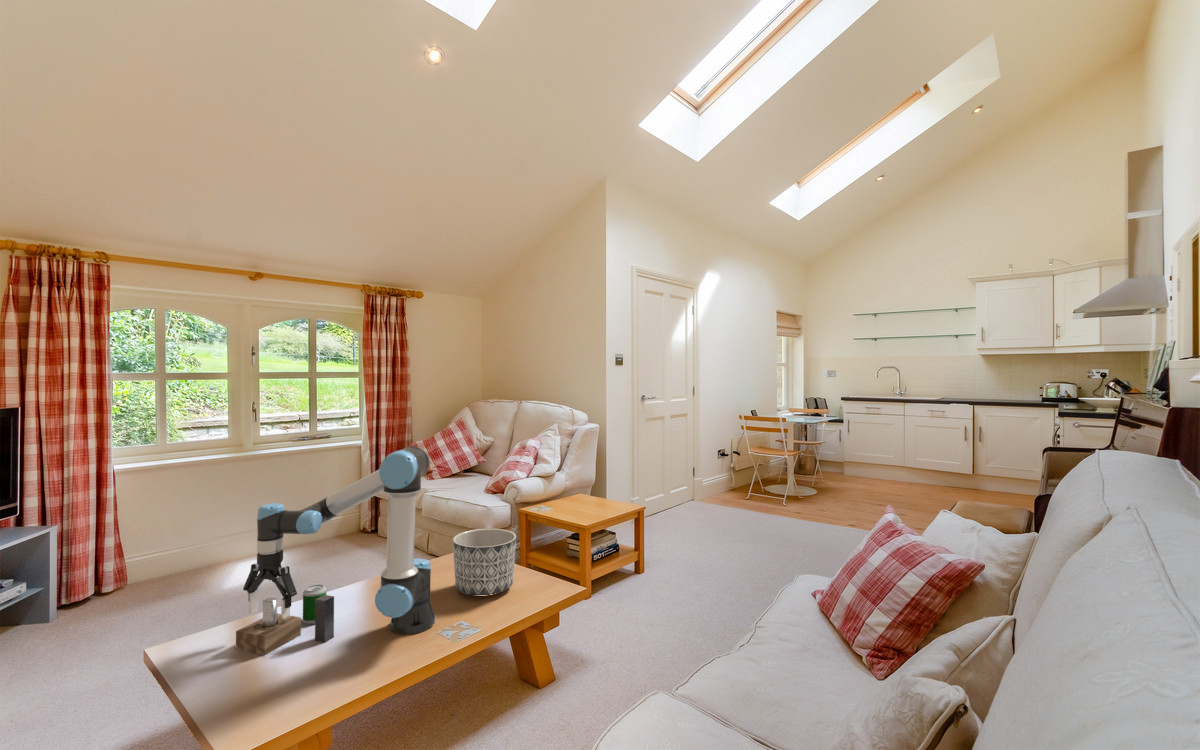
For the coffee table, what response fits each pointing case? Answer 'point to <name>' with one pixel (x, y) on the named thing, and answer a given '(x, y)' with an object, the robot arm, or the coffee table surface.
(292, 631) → the bore block
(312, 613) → the soda can
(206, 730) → the coffee table surface
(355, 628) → the coffee table surface
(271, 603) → the cylinder
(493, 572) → the planter
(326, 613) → the square bit
